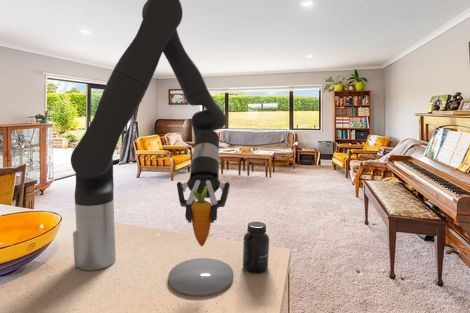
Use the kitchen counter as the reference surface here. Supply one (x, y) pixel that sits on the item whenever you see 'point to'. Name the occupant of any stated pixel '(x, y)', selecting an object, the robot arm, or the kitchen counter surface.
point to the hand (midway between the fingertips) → (200, 221)
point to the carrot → (201, 217)
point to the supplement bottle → (256, 248)
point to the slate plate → (200, 277)
